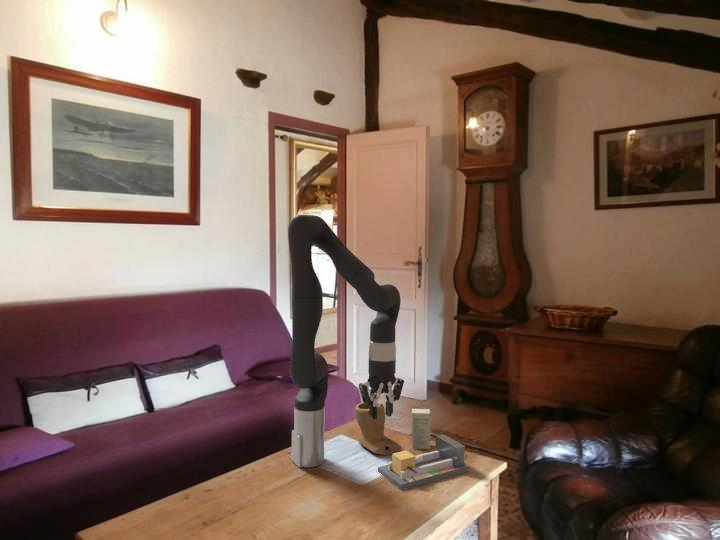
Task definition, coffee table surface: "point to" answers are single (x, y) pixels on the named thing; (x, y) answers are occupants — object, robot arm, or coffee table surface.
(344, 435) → the coffee table surface
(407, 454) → the gauge carriage
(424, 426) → the skincare box
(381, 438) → the brown clay boot
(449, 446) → the grey end plate
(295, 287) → the robot arm
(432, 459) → the base
